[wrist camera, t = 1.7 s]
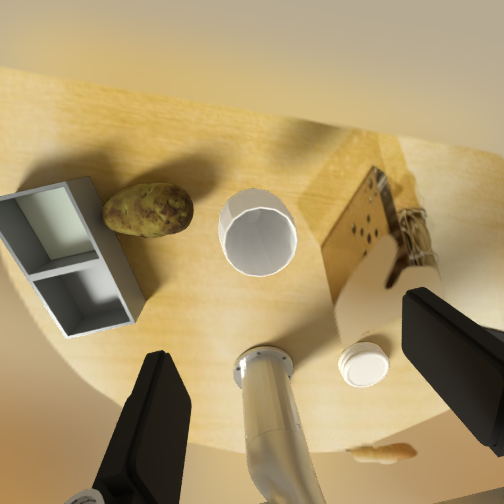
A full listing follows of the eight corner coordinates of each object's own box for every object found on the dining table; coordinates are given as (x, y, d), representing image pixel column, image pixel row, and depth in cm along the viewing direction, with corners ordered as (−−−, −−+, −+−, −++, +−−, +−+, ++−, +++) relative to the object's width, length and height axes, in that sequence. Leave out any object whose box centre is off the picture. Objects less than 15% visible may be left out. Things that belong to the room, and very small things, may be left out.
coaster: (338, 379, 58) (345, 393, 54) (336, 346, 54) (343, 358, 50) (381, 370, 58) (390, 383, 55) (381, 336, 54) (391, 348, 51)
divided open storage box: (146, 301, 45) (135, 323, 40) (85, 315, 45) (66, 339, 39) (89, 176, 36) (65, 181, 31) (14, 193, 36) (-23, 201, 31)
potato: (108, 168, 36) (79, 173, 29) (199, 183, 38) (193, 192, 31) (109, 223, 39) (83, 241, 32) (194, 235, 41) (187, 254, 34)
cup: (245, 229, 42) (261, 297, 23) (211, 198, 39) (197, 247, 20) (276, 196, 40) (322, 240, 21) (243, 163, 38) (260, 178, 19)
